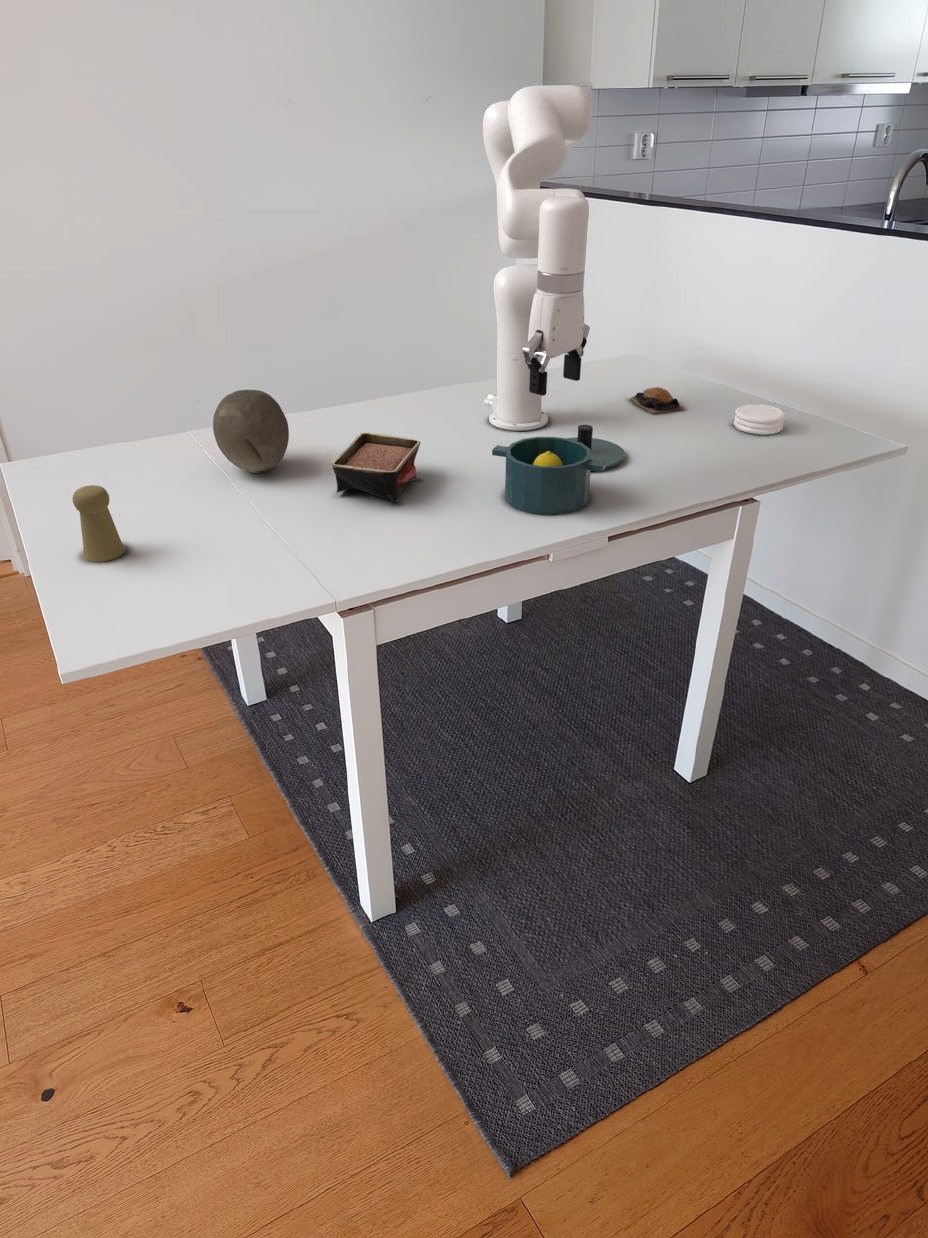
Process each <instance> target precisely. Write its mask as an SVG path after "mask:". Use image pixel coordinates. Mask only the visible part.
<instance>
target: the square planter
mask: <svg viewBox="0 0 928 1238" xmlns="http://www.w3.org/2000/svg"><path fill="white" fill-rule="evenodd" d="M420 446H421V441H420V440H418V439H416V438H411V437H406V436H398V435H392V434H385V433H375V432H360V434H358V435H357V436H356V437H355V439H354V440H353V441H352V442H351V443H349V445H348V446H347V447H345V449H344V450H343V451H342V452H341V453H340V454H339V455H338V456H337V457H336V458H335V459H334V460H333V461H332V463H331V465H332V469H333V472H334V475H335V480H336V492H335V494H337V493H341V492H344V491H348V490H352V489H357V490H359V491H362V492H365V493H368V494H371V495H373V496H376V497H379V498H380V499H383V500H387V501H389V502H391V503H394V504H397V501H398V500H399V497H400V494H401V493H402V492H403V491H404V488H405V486H406V485H407V483H408V482H410V481H413V480H415V479H417V478H418V475H417V467H416V466H415V460H416V459H417V454H418V451H419V448H420Z"/></svg>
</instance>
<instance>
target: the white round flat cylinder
mask: <svg viewBox="0 0 928 1238" xmlns="http://www.w3.org/2000/svg"><path fill="white" fill-rule="evenodd" d="M734 414H735V415H734V418H733V419H734V420H733V426H734V427H735V428H736V429H737V430H739V432H740V431H741V432H743V433H747V434H751V435H759V436H768V435H769V436H770V435H775V434H778V433H780V432H781V431H782V430H783V428H784V423H785V418H786V413H785V412H784V411H783V410H781V409H780V408H778V407H775V406H772V405H768V404H767V405H766V404H759V403H753V404H751V403H750V404H743V405H740V406H738V407H737V408H736V409H735V411H734Z"/></svg>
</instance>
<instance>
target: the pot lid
mask: <svg viewBox="0 0 928 1238" xmlns="http://www.w3.org/2000/svg"><path fill="white" fill-rule="evenodd" d="M593 430H594V426H593V425H590V424H580V425H578V426H577V437H566V438H565V439H571V440H574V441H577V442H580V443H583V444H584V445H585V446H587V447H588V448H590V450H591V454H592V459H591V460H598V461H604V462H606V468H605V469H608V468H612V467H614V466H617V465H619V464H620V463H622V462H623V461H624V459H625V457H626V452H625V449H623V447H621V446H620V445H619V444H617V443H615V442H612V441H610V440H606V439H602V438H596V437H593V432H594V431H593Z"/></svg>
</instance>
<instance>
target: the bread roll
mask: <svg viewBox="0 0 928 1238" xmlns="http://www.w3.org/2000/svg"><path fill="white" fill-rule="evenodd" d="M630 401H632V402H633V403H634V404H636V405H637V406H638V407H640V408H642V409H643V410H644V411H647V412H648V413H650V414H653V415H659V414H666V413H669V412H670V413H673V412H678V411H682V410H683V409H682V408H683V407H681V406H680V405H681V403H680V402H679V400H678V398H674V397H673V396H672V394H671V393H670V392H669V390H666V389H665V388H662V387H659V386H656V387H651V388H649V387H648V388H646V389H645V390H643V392H636V394H635V395H634V396H631V397H630Z"/></svg>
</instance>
